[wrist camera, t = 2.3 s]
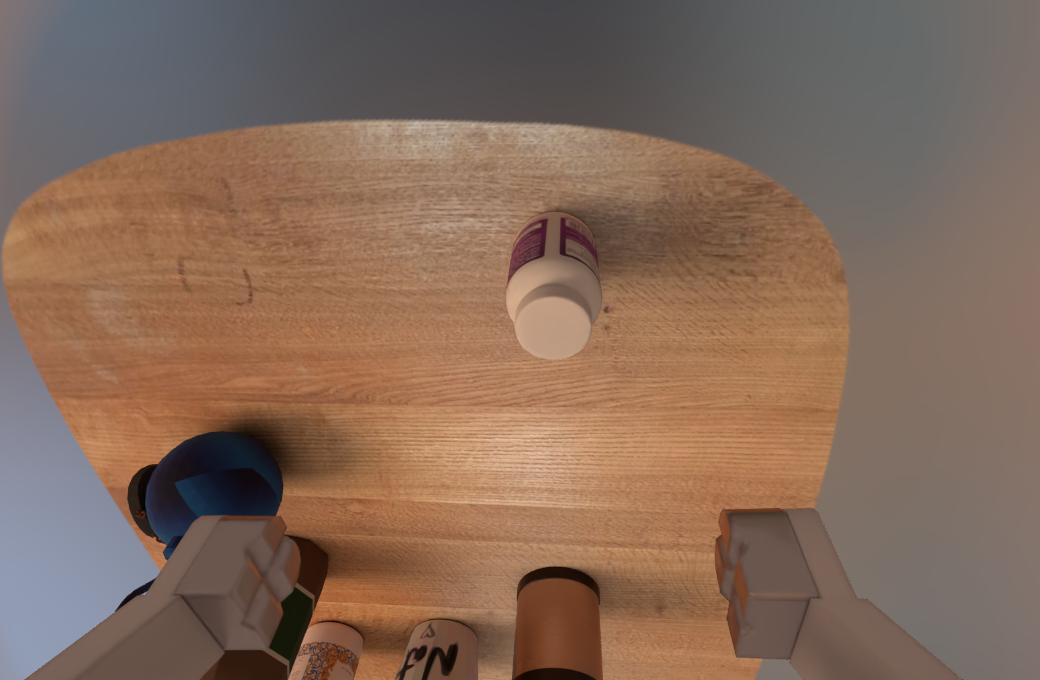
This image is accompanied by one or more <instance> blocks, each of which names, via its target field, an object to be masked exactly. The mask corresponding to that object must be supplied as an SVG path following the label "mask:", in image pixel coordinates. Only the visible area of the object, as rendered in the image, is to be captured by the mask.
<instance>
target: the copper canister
mask: <svg viewBox="0 0 1040 680" xmlns="http://www.w3.org/2000/svg"><path fill="white" fill-rule="evenodd" d="M517 602H518V603H517V616H516V630H515V644H514V657H513V671H512V680H603V671H602V651H601V631H600V611H599V605H600V592H599V587H598V585H597V583H596V582H595V581H594V580H593V579H592V578H591V577H590V576H588V575H586V574H585V573H582V572H580V571H577V570H574V569H570V568H563V567H548V568H542V569H538V570H535V571H532V572H530V573H528V574H527V575H525V576H524V577H523V578H522V579H521V580H520V582H519V584H518V590H517Z"/></svg>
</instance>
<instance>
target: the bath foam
mask: <svg viewBox="0 0 1040 680" xmlns="http://www.w3.org/2000/svg"><path fill="white" fill-rule="evenodd" d="M362 648H363V638H362V636H361V635H360V634H359V633H358V632H357V631H356V630H355V629H353V628H351V627H349V626H347V625H344V624H341V623H336V622H322V623H317V624H314V625H312V626H311V627H310V628H309V629H308V630H307V632H306V634H305V637H304V639H303V642H302V645H301V647H300V649H299V652H298V655H297V657H296V660H295V663H294V665H293V668H292V670H291V673H290V676H289V678H288V680H354V676H355V673H356V669H357V666H358V662H359V659H360V655H361V652H362Z"/></svg>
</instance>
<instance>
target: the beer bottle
mask: <svg viewBox="0 0 1040 680" xmlns="http://www.w3.org/2000/svg"><path fill="white" fill-rule="evenodd" d="M287 537H289V538H290V539H292V540H293V541H295V542H296V544H297V546H298V548H299V551H300V557H301V565H300V572H299V577H298V580H297V582H296V585H295V587H294V590H293V592H292V593H291V594H289V595H288V596H287V597H286V598H285V599H284V600H283V601H282V602H281V607H282V611H283V616H282V618H281V621H280V623H279V625H278V628H277V630H276V632H275V635H274V637H273V639H272V642H271V644H270V646H269V649H268V650H224V652H225V653H224V654H223V655H222V657H221V658H220V659H219V660H218V661H217V662H216V663H215V664H214V665H213V666H212V667H211V668H210V669H209V670H208V671H207V672H206V673H205V674H204V676H203V677H202V678H201V679H200V680H288V678H289V676H290V673H291V670H292V668H293V665H294V662H295V660H296V657H297V655H298V652H299V649H300V647H301V644H302V641H303V639H304V636H305V633H306V631H307V628H308V625H309V623H310V620H311V618H312V615H313V612H314V610H315V607H316V604H317V602H318V599H319V596H320V594H321V591H322V588H323V585H324V582H325V579H326V575H327V567H328V555H327V554H326V553H325V552H323V551H322V550H321V549H320V548H318V547H317V546H316V545H315V544H313V543H312V542H311V541H310V540H305V539H300V538H295V537H290V536H287Z"/></svg>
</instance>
